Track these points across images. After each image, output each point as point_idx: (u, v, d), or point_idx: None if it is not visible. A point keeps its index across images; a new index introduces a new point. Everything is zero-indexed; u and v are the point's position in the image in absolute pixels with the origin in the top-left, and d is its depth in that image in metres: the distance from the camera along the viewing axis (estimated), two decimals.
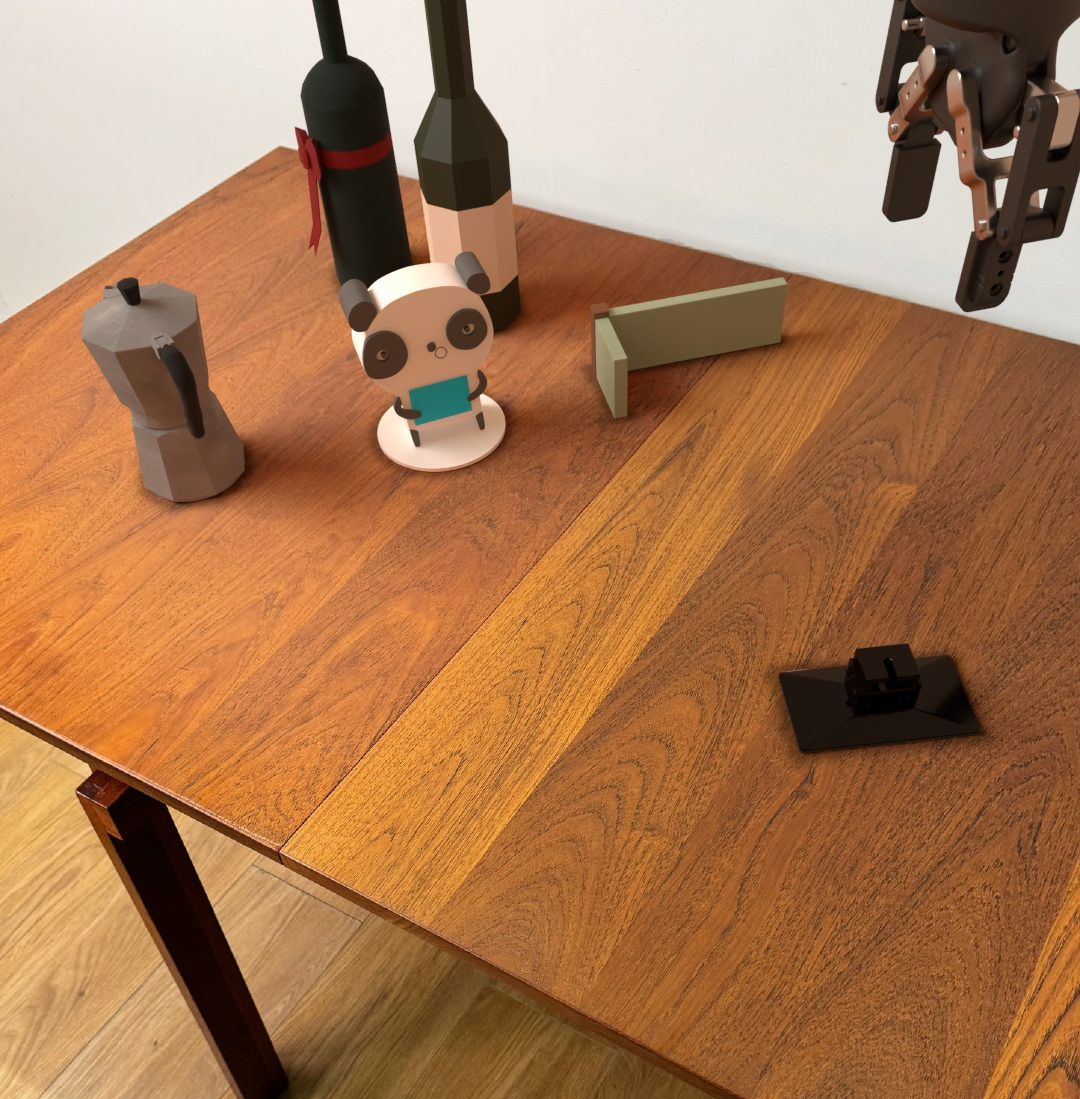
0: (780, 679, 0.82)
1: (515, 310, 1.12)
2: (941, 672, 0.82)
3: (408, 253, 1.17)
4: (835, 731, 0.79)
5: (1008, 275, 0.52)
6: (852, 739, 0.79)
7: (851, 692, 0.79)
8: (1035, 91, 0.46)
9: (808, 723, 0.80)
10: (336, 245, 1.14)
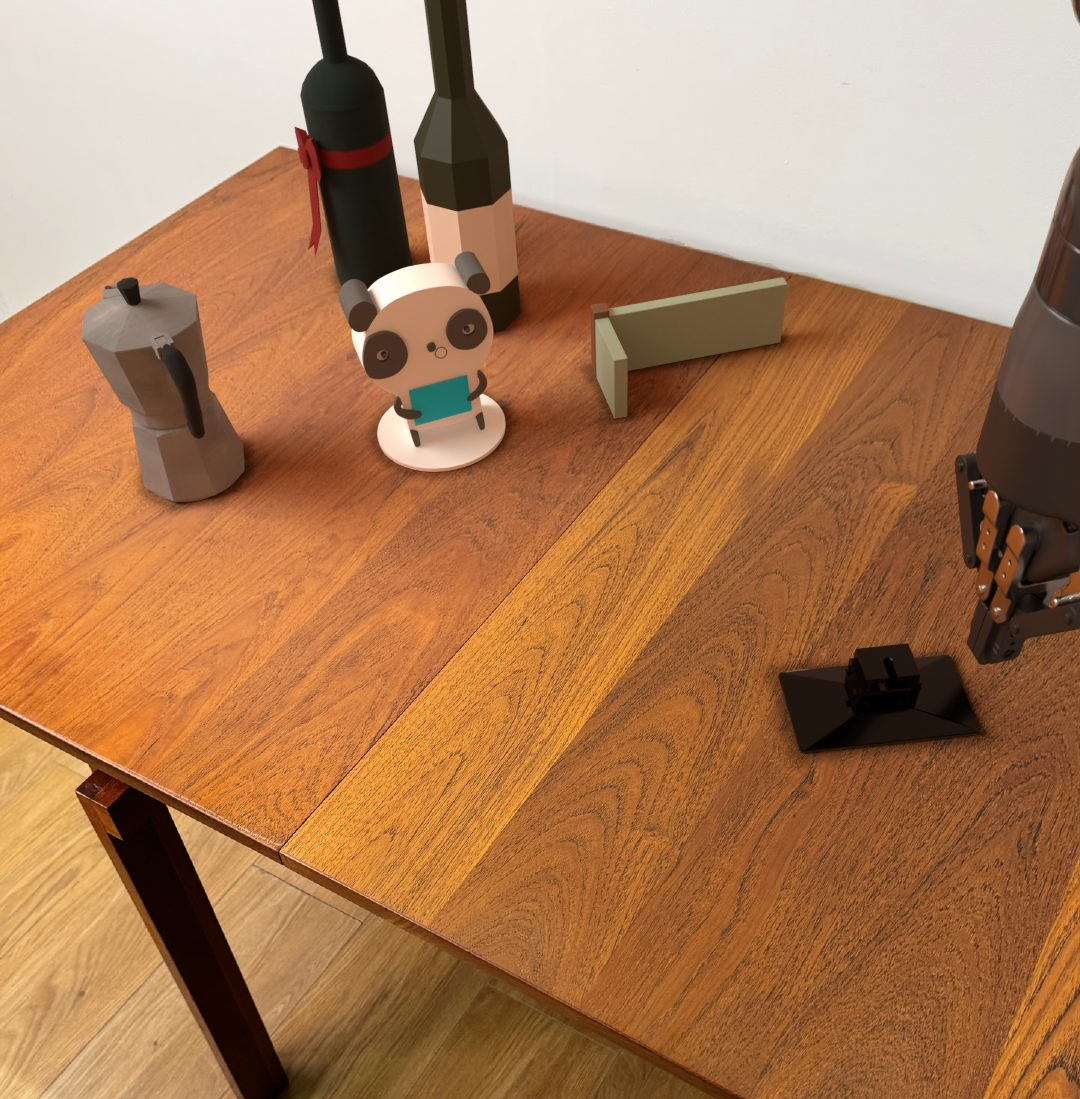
0: (780, 679, 0.82)
1: (515, 310, 1.12)
2: (941, 672, 0.82)
3: (408, 253, 1.17)
4: (835, 731, 0.79)
5: (1018, 644, 0.61)
6: (852, 739, 0.79)
7: (851, 692, 0.79)
8: None
9: (808, 723, 0.80)
10: (336, 245, 1.14)
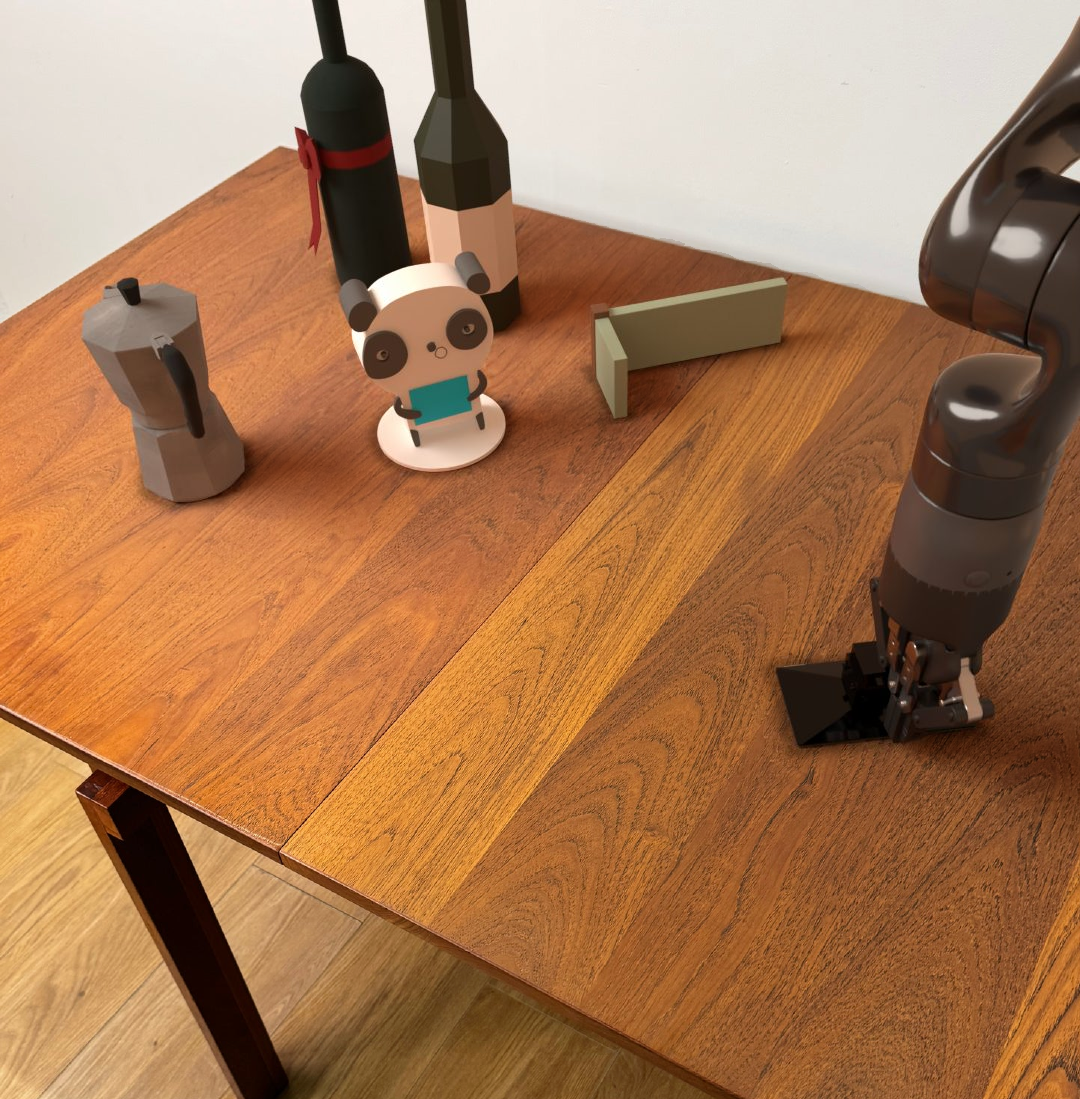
0: (777, 674, 0.83)
1: (515, 310, 1.12)
2: None
3: (408, 253, 1.17)
4: (833, 725, 0.79)
5: (923, 728, 0.75)
6: (849, 734, 0.79)
7: (848, 687, 0.80)
8: (960, 691, 0.67)
9: (805, 718, 0.80)
10: (336, 245, 1.14)
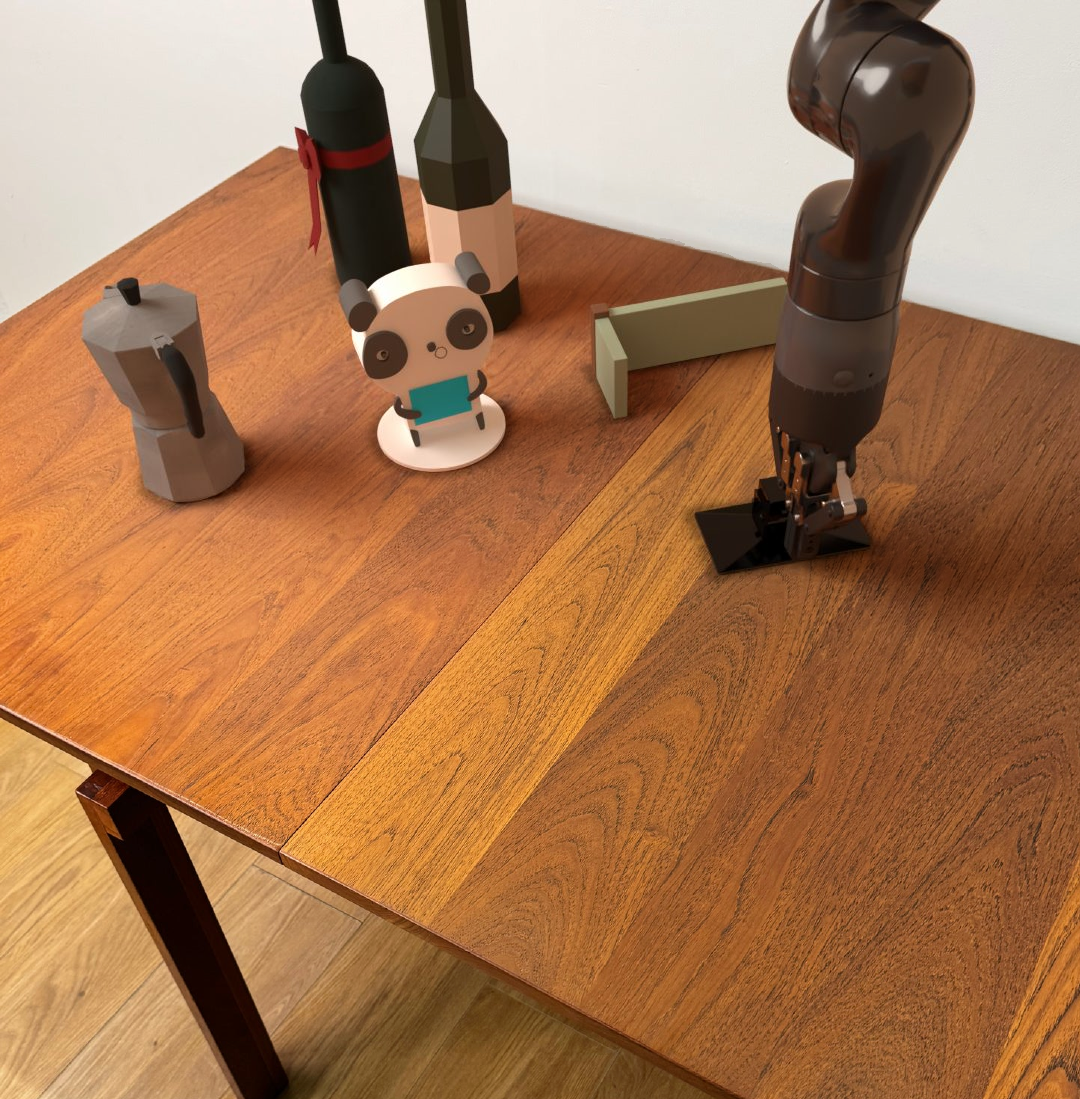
0: (696, 517, 0.93)
1: (515, 310, 1.12)
2: None
3: (408, 253, 1.17)
4: (747, 553, 0.90)
5: (815, 542, 0.86)
6: (762, 559, 0.90)
7: (758, 519, 0.91)
8: (837, 491, 0.78)
9: (723, 549, 0.91)
10: (336, 245, 1.14)
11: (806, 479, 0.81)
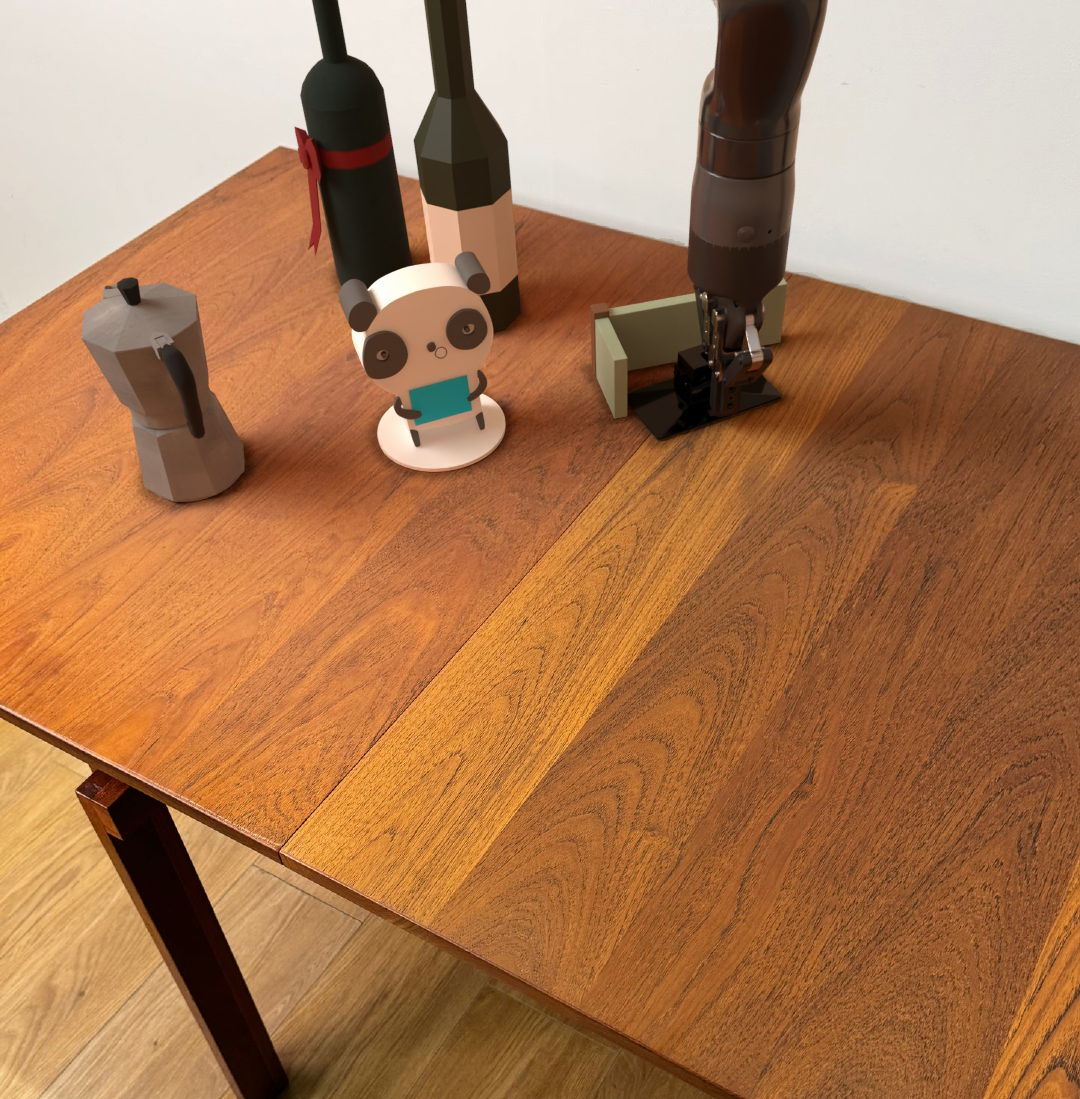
0: None
1: (515, 310, 1.12)
2: None
3: (408, 253, 1.17)
4: (679, 419, 1.01)
5: (735, 398, 0.97)
6: (693, 422, 1.01)
7: (682, 389, 1.01)
8: (747, 341, 0.89)
9: (657, 420, 1.01)
10: (336, 245, 1.14)
11: (722, 335, 0.92)
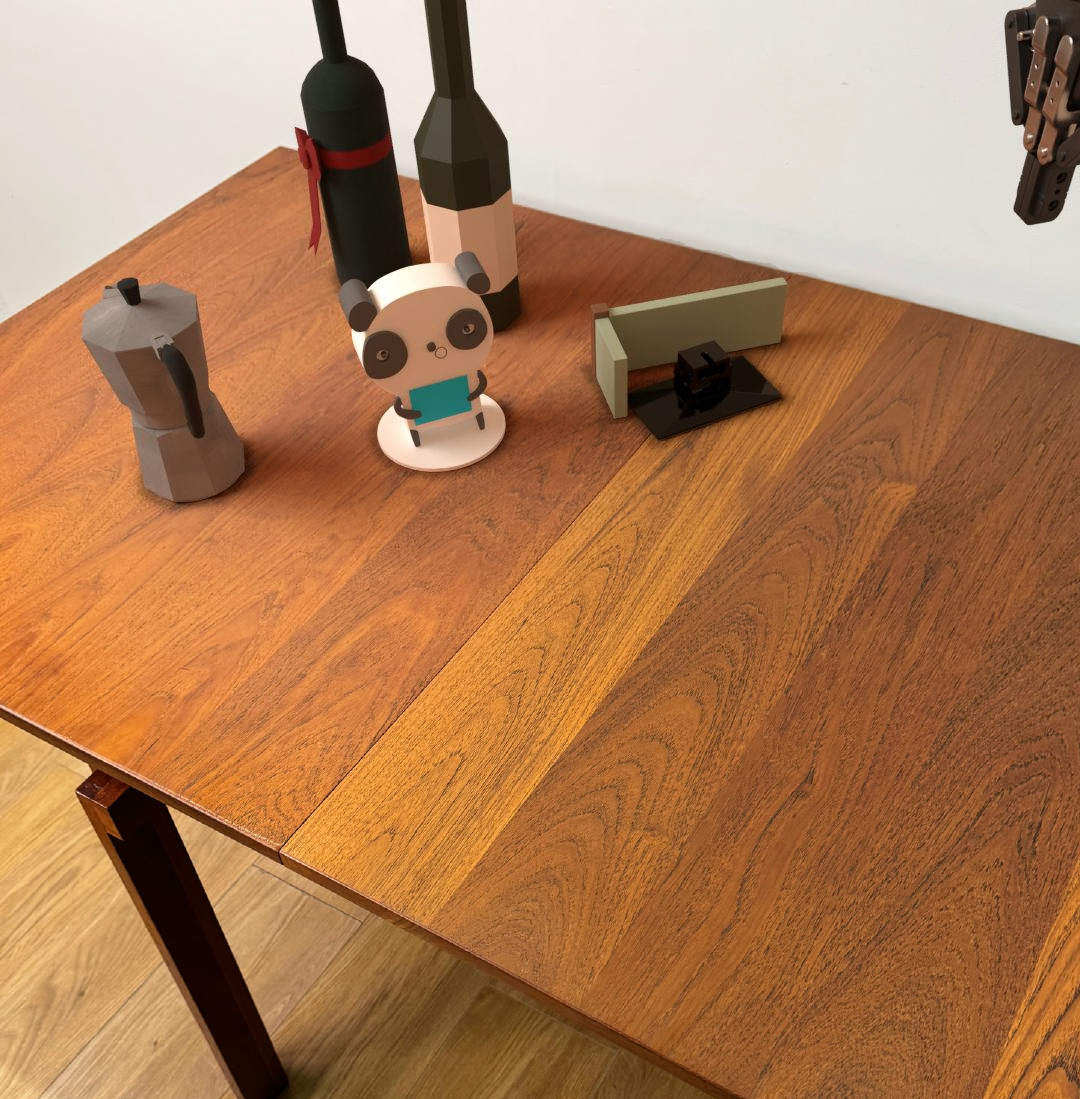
0: None
1: (515, 310, 1.12)
2: (740, 366, 1.05)
3: (408, 253, 1.17)
4: (679, 419, 1.01)
5: (1063, 193, 0.66)
6: (693, 422, 1.01)
7: (682, 389, 1.01)
8: None
9: (657, 419, 1.01)
10: (336, 245, 1.14)
11: (1072, 78, 0.61)
